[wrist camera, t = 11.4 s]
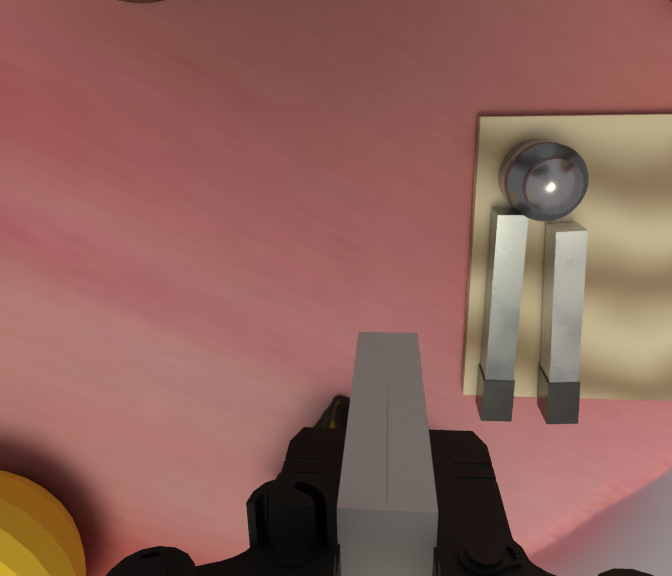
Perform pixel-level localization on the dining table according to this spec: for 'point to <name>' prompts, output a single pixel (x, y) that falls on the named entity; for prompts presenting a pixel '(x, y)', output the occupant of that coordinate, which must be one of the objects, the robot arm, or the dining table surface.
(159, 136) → the dining table surface
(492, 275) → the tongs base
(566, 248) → the bar
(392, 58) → the dining table surface
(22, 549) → the vase
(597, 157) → the board
